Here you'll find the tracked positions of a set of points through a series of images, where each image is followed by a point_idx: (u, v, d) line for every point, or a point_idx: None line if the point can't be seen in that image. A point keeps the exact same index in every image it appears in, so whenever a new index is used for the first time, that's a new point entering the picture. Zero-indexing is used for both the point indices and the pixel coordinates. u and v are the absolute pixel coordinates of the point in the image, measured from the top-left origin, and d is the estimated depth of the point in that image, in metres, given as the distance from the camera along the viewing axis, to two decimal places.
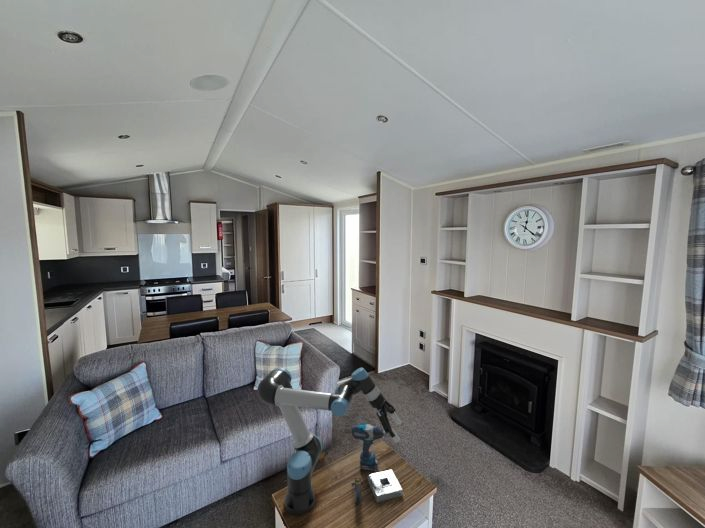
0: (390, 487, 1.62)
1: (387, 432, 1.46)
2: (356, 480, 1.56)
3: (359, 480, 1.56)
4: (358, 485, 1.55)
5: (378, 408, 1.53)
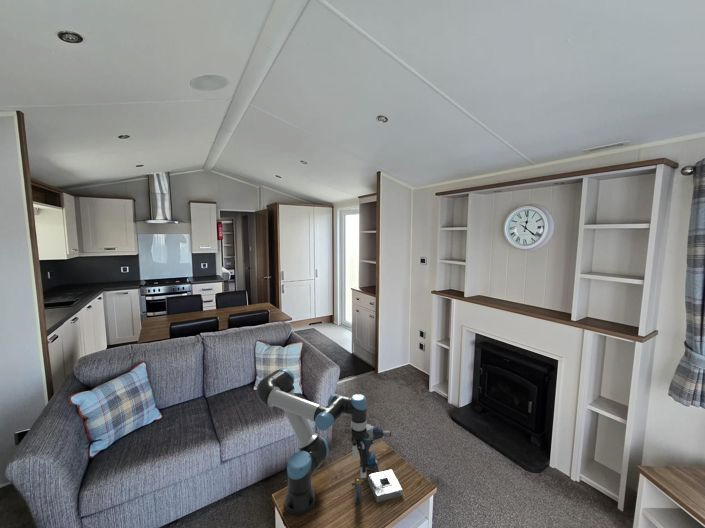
0: (390, 487, 1.62)
1: (365, 467, 1.45)
2: (356, 480, 1.56)
3: (359, 480, 1.56)
4: (358, 485, 1.55)
5: (361, 440, 1.50)
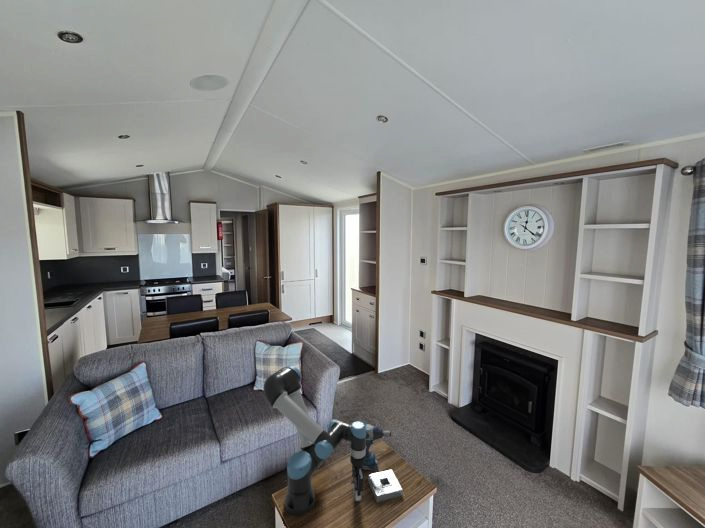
0: (390, 487, 1.62)
1: (360, 491, 1.51)
2: (355, 478, 1.56)
3: None
4: None
5: (359, 467, 1.51)
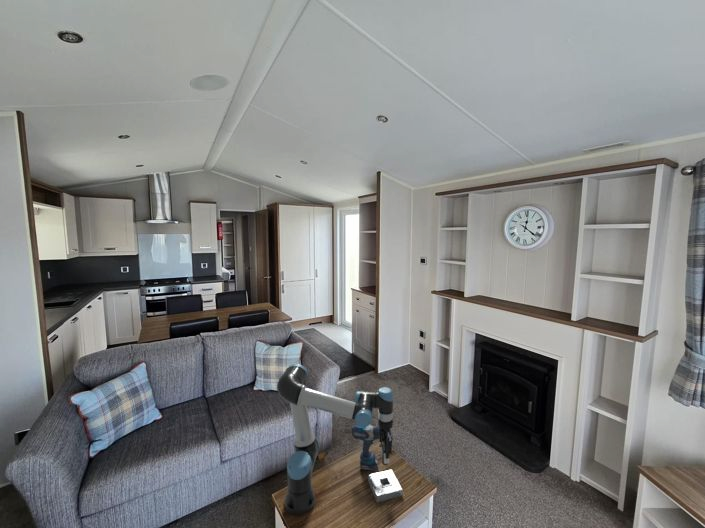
0: (390, 487, 1.62)
1: (388, 453, 1.58)
2: (383, 442, 1.62)
3: None
4: None
5: (388, 430, 1.58)
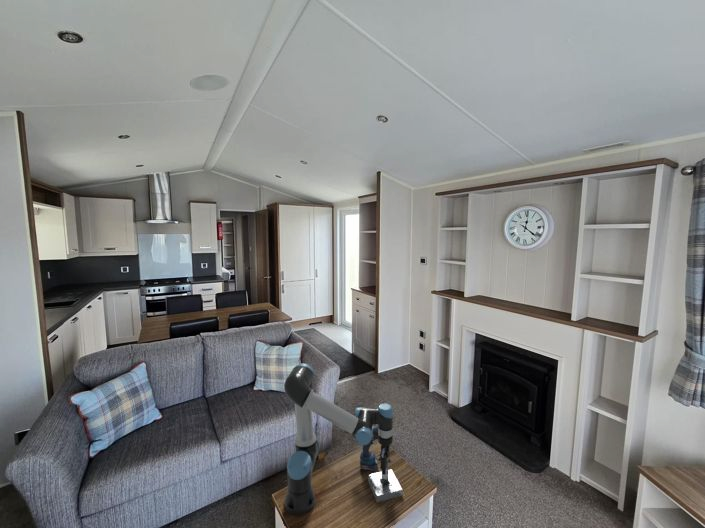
0: (390, 487, 1.62)
1: (382, 469, 1.59)
2: None
3: None
4: None
5: (383, 447, 1.59)
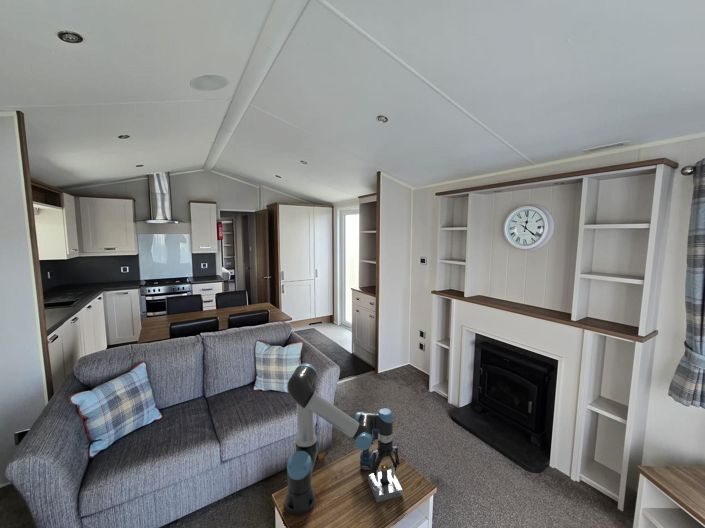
0: (390, 487, 1.62)
1: None
2: (383, 466, 1.65)
3: (383, 468, 1.64)
4: (381, 470, 1.64)
5: (378, 448, 1.62)
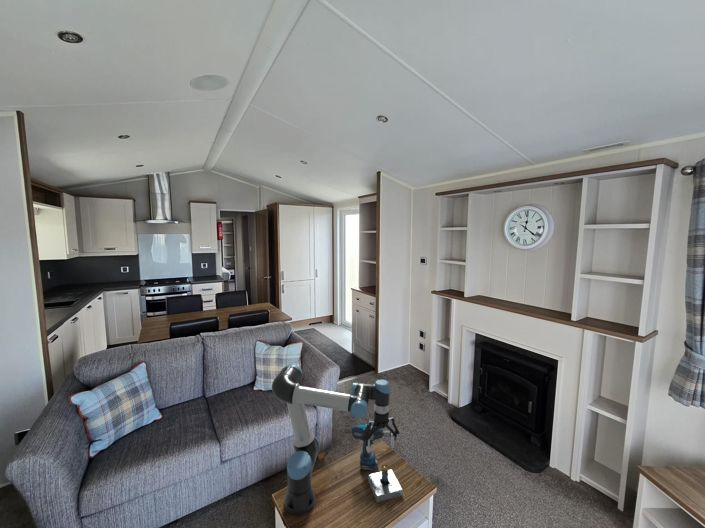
0: (390, 487, 1.62)
1: None
2: (384, 465, 1.65)
3: (384, 467, 1.64)
4: (382, 470, 1.64)
5: (374, 419, 1.60)
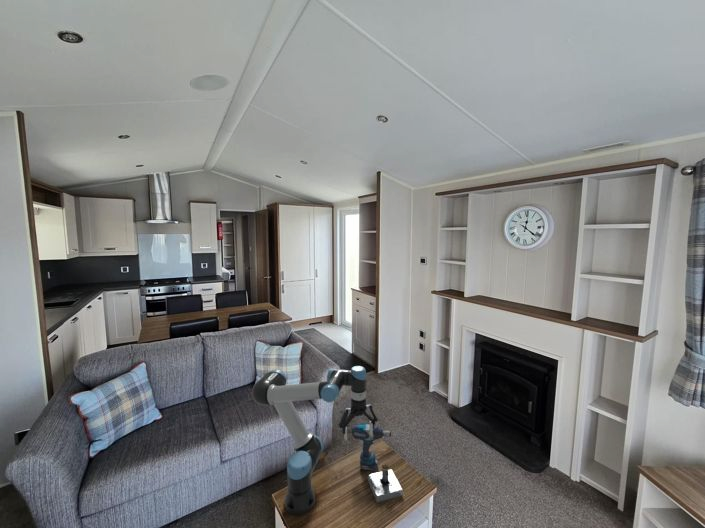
0: (390, 487, 1.62)
1: (339, 425, 1.57)
2: (384, 465, 1.65)
3: (384, 468, 1.64)
4: (382, 470, 1.64)
5: (351, 407, 1.57)
